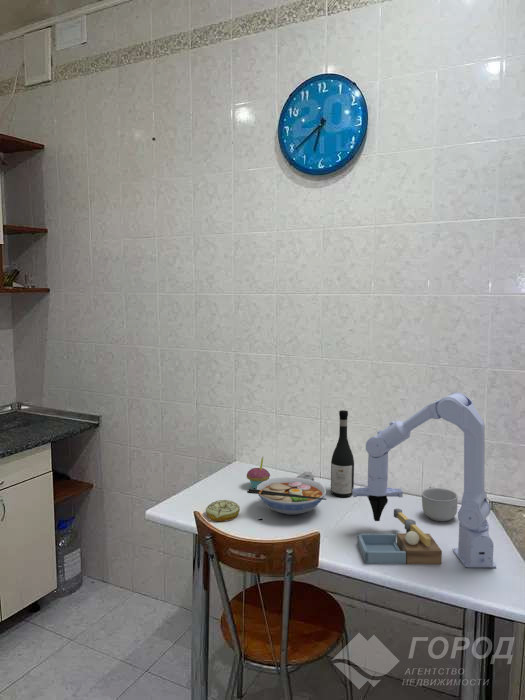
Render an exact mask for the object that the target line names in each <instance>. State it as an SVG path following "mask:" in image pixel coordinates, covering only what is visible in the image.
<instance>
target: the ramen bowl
mask: <svg viewBox="0 0 525 700" xmlns="http://www.w3.org/2000/svg"><path fill="white" fill-rule="evenodd" d="M246 493H247V494H253V495H258V497H259V498H260V499H261V501H263V502H262V503H264V504H265V506H267V507H268V509H271V510H272V511H274V512H277V513H281V514H283V515H288V516H296V515H300V514H305V513H308V512H310V511H312V510H313V509H315V508H316V507H317V506H318V505H319V504H320V503H321V502H322V501H323V500H324V501H326V500H327V498H325V496H326V494H327V490H326V486H324V485H323V484H321V483H320V482H318V481H315V480H314V481H313V480H310V479H304V478H298V477H297V476H296V477H294V476H293V477H292V476H291V477H289V476H285V477H284V476H283V477H275V478H271V479H270V478H269V479H268V480H266V481H263V482H262V483H260V484H259V485H257V489H254V488H248V490H247V492H246Z"/></svg>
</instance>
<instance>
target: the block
mask: <svg viewBox="0 0 525 700" xmlns="http://www.w3.org/2000/svg"><path fill="white" fill-rule="evenodd" d="M405 530H406V529H405ZM408 532H409V530H406V531H405V533H403V532H401V533H399V532H398V533H397V534H396V543H397V545H398V547H399V549H400V550H401V551H405V552H406V564H407V565H408V564H409V565H411V564H413V565H423V564H424V565H442V562H443V561H442V558H443V556H442V555H443V550H442V549H441V548H440V547H439V545H438V543H437V542H436V541H435V539H434V538H433V537H432V535H431V534H430V533H425V534H426V535H427V536H428V537H429V538H430V539H431V545H430V546H426V545H425V544H424V543H422V542H421V541H420V540H419V542H418V543H417V544H416V545H410V544H409V543H407V541H406V538H405V537H406V534H407V533H408Z"/></svg>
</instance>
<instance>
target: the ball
mask: <svg viewBox="0 0 525 700" xmlns="http://www.w3.org/2000/svg"><path fill="white" fill-rule="evenodd" d="M405 538H406V541H407V543H409V544H410V545H416V544H417V543H418V542H419V536H418V534H417V533H416V532H414V531H409V532H408V533H407V534H406V537H405Z"/></svg>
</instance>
